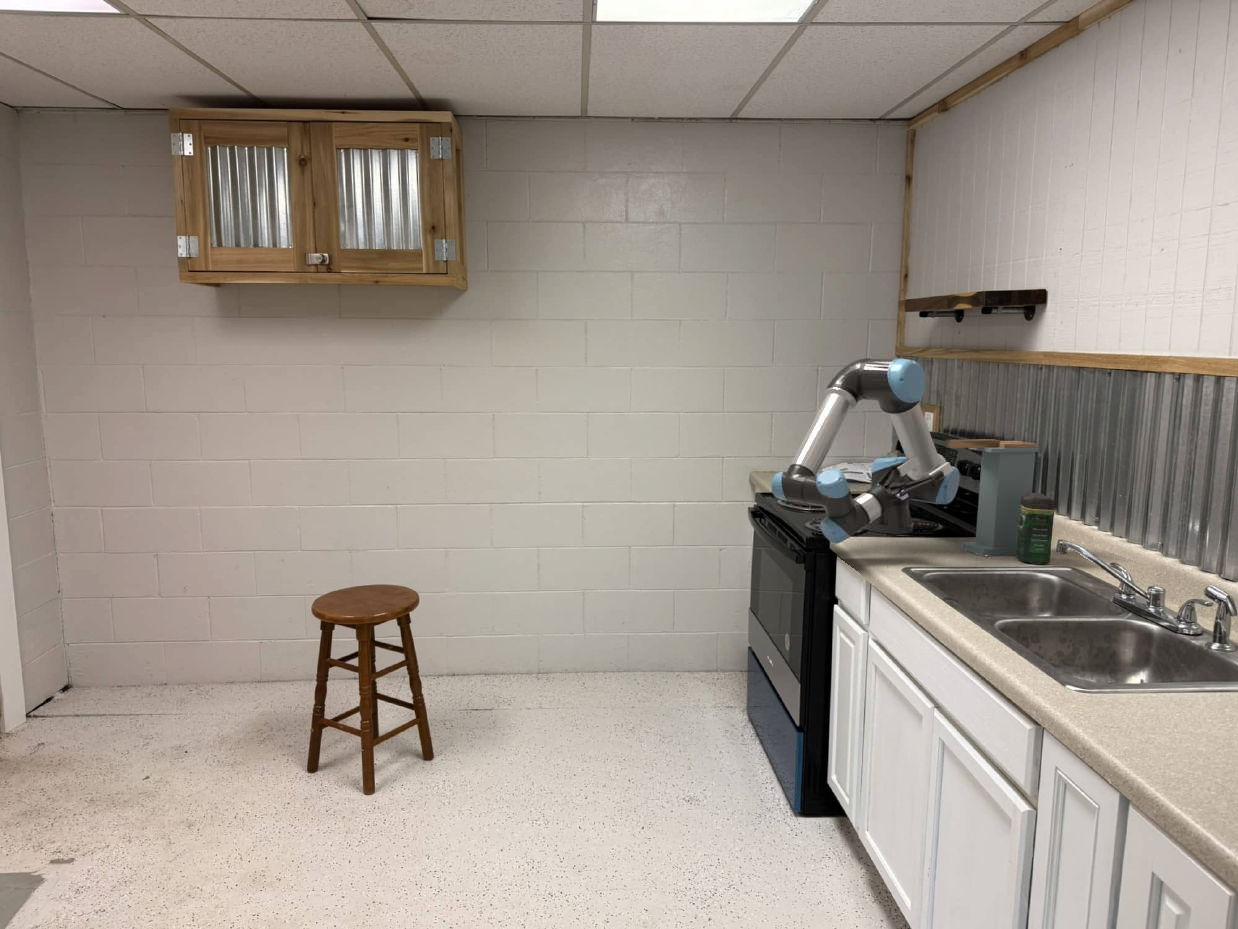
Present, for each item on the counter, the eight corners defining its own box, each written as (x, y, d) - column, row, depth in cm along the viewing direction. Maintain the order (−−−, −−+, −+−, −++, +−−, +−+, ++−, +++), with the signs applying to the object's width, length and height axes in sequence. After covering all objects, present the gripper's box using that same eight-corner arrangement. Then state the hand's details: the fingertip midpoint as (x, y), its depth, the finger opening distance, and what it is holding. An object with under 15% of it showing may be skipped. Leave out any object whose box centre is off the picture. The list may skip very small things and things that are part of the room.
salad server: (939, 446, 238) (939, 438, 237) (1016, 445, 246) (1017, 438, 245) (957, 449, 230) (958, 441, 230) (1036, 447, 238) (1037, 440, 238)
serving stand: (961, 549, 245) (968, 445, 241) (1006, 546, 250) (1014, 444, 246) (983, 556, 237) (991, 448, 233) (1029, 553, 241) (1038, 448, 238)
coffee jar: (1053, 566, 227) (1059, 497, 225) (1021, 564, 229) (1026, 495, 226) (1043, 558, 236) (1049, 491, 234) (1013, 556, 238) (1018, 490, 236)
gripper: (852, 507, 242) (909, 468, 246) (906, 524, 218) (969, 481, 222) (841, 485, 240) (900, 446, 244) (896, 499, 216) (959, 457, 220)
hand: (933, 463), depth 233 cm, fingers open, 13 cm apart
